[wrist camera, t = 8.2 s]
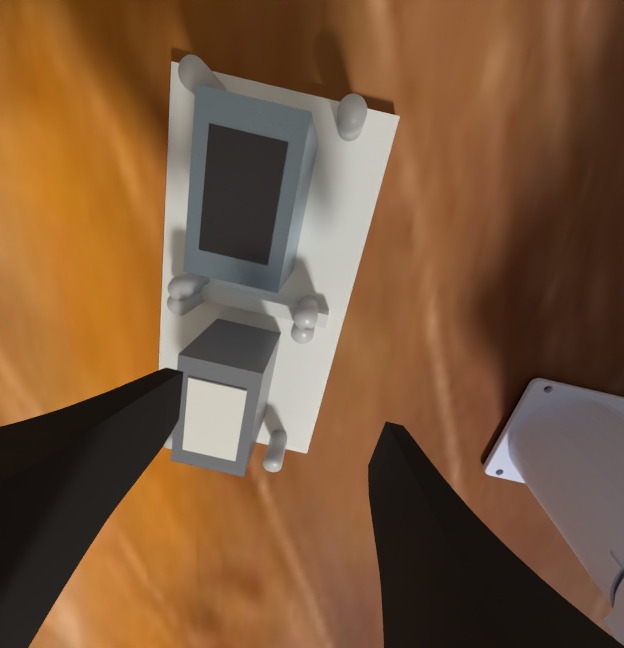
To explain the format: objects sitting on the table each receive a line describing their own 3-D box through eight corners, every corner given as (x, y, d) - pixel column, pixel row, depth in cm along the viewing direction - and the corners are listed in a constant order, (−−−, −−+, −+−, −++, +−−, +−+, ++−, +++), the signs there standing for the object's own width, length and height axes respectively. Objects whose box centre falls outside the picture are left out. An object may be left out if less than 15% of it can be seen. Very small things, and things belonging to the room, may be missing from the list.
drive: (318, 142, 15) (311, 110, 10) (293, 270, 17) (277, 293, 13) (239, 123, 15) (194, 82, 10) (224, 254, 17) (182, 271, 12)
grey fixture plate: (396, 120, 15) (431, 69, 10) (307, 445, 23) (299, 521, 17) (179, 68, 15) (88, -15, 9) (162, 412, 22) (106, 478, 17)
